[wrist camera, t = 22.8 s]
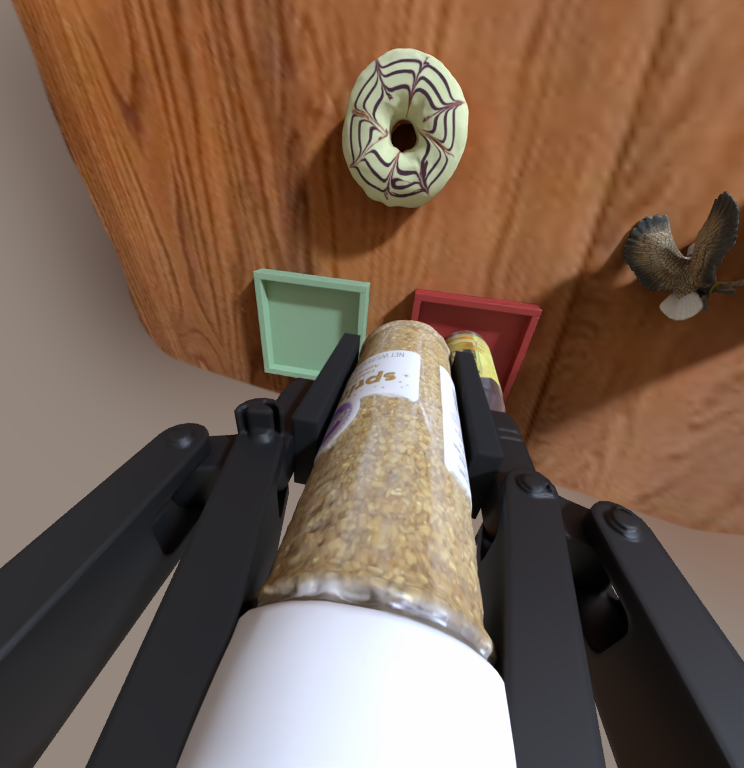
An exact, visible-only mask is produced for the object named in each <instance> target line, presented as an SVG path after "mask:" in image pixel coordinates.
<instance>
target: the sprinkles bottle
mask: <svg viewBox="0 0 744 768" xmlns="http://www.w3.org/2000/svg"><path fill="white" fill-rule="evenodd" d="M451 367H452V361H451V353H450V350H449V348H448V346H447V344H446V342H445V340H444V338H443V337H442V336H441V335H439V334H438V332H437V331H435V330H434V329H433V328H432V327H431V326H429V325H427V324H424V323H422V322H418V321H413V320H408V321H407V320H397V321H393V322H388V323H386V324H384V325H382V326H380V327H379V328H378V329H376V330H374V331H373V332H372V333H371V334H370V335H368V337H367V338H366V340H365V341H364V343H363V345H362V347H361V350H360V353H359V361H358V363H357V365H356V367H355V370H354V372H353V373H352V375H351V376H350V378H349V380H348V382H347V385H346V387H345V390H344V392H343V394H342V397H341V399H340V401H339V404H338V406H337V408H336V410H335V413H334V415H333V417H332V420H331V422H330V424H329V427H328V429H327V432H326V434H325V437H324V439H323V441H322V444H321V446H320V448H319V450H318V453H317V455H316V458H315V460H314V466H313V469H312V472H311V474H310V476H309V478H308V480H307V482H306V485H305V489H304V491H303V493H302V495H301V497H300V499H299V501H298V504H297V506H296V509H295V512H294V514H293V517H292V520H291V522H290V523H289V525H288V527H287V531H286V534H285V536H284V538H283V541H282V543H281V545H280V547H279V549H278V551H277V554H276V556H275V558H274V561H273V564H272V566H271V569H270V572H269V575H268V577H267V579H266V581H265V583H264V584H263V586H262V587H261V588H260V589H259V591H258V592H257V593H256V595H255V596H254V598H253V600H252V602H251V610H249V611H247V612H246V613H245V614H244V615H243V616H241V617H240V618H239V620H238V622H237V625H236V628H235V631H234V634H233V636H232V639H231V641H230V643H229V645H228V647H227V650H226V652H225V654H224V656H223V658H222V660H221V663H220V665H219V667H218V669H217V671H216V674H215V676H214V678H213V681H212V683H211V685H210V687H209V690H208V692H207V694H206V697H205V699H204V701H203V704H202V706H201V708H200V711H199V713H198V715H197V718H196V720H195V722H194V725H193V727H192V729H191V732H190V734H189V737H188V739H187V742H186V744H185V747H184V749H183V752H182V754H181V757H180V759H179V762H178V764H177V767H176V768H517V767H516V759H515V752H514V745H513V739H512V732H511V725H510V719H509V712H508V705H507V698H506V692H505V685H504V682H503V680H502V678H501V677H500V675H499V674H498V672H497V671H496V670H495V669H494V668H493V666H494V665H495V663H496V661H497V654H496V651H495V647H494V644H493V642H492V640H491V638H490V636H489V635H488V633H487V632H486V630H485V628H484V623H485V617H484V611H483V602H482V596H481V590H480V584H479V578H478V568H477V559H476V545H475V538H474V533H473V527H472V517H471V514H472V501H471V492H470V485H469V478H468V471H467V464H466V457H465V449H464V443H463V436H462V430H461V424H460V418H459V412H458V405H457V398H456V392H455V387H454V384H453V381H452V377H451Z"/></svg>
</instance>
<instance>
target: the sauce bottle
mask: <svg viewBox="0 0 744 768" xmlns="http://www.w3.org/2000/svg"><path fill="white" fill-rule="evenodd" d="M444 340H445V342H446V344H447V346H448V348H449V350H450V353H451V361H452V363H453V360H454V356H455V353H456V351H462V352H468V353H473V355H474V359H475V362H476V365H477V368H478V372H479V375H480V378H481V381H482V385H483V388H484V391H485V394H486V398H487V401H488V404H489V407H490V410H494V411H500V412H505V413H506V411H505V406H504V402H503V394H502V390H501V387H500V384H499V380H498V377H497V374H496V370H495V367H494V363H493V359H492V356H491V353H490V350H489V347H488V345H487V344H486V342H485V340H484V339H483V338H482V337H481V336H480V335H479V334H477V333H475V332H472V331H467V330H463V331H458V332H454V333H452V334H450V335H449V336H447V337H445V339H444Z"/></svg>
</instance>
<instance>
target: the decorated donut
mask: <svg viewBox="0 0 744 768" xmlns="http://www.w3.org/2000/svg"><path fill="white" fill-rule="evenodd" d="M402 123H403V124H412V125H413V127H414V130H415V132H416V135H417V141H416V145H415V146H414V147H413V148H412V149H409V150H405V151H404V152H403V153H401V152H400V151H399V150H398V149H397V148H395V147H393V144H392V142H391V139H392V137H391V136H392V134H393V132H394V130H395V129H396V128H397V126H399V125H400V126H401V124H402ZM467 127H468V106H467V104H466V101H465V99H464V96H463V93H462V90H461V88H460V86H459V84H458V83H457V81H456V80H455V78H454V77H453V76H452V75H451V73H450V72H449V70H447V69H446V68H445V66H444V65H443V64H442V62H440V61H438V60H437V59H436V58H435V57H433V56H431V55H428V54H425V53H423V52H421V51H418V50H415V49H400V48H398V49H393V50H391V51H388V52H386V53H385V54H384V55H383V56H381V57H379V58H378V59H376V60H374V61H373V62H372V63H370V64H369V66H367V68H366V69H365V70H363V71H362V72H361V73H360V76H359V77H358V78H357V81H356V83H355V85H354V87H353V89H352V92H351V94H350V96H349V101H348V105H347V109H346V115H345V122H344V125H343V131H342V146H343V153H344V156H345V160H346V162H347V165H348V169H349V170H350V172H351V174H352V177H353V178H354V179H355V181H356V182H357V183H358V184H359V185H360V186H361V187H362V188H363V190H364V192H365V193H366V195H367V196H368V197H370V198H371V199H372V200H376V201H378V202H382V203H384V204H385V205H386V206H388V207H393V206H401V207H408V208H414V207H419V206H422V205H424V204H426V203H427V202H428V201H430V200H431V199H432V198H433V197H434V196H435V195H436V194H437V193H438V192H439V191H441V190H442V188H443V187H444V185H445V184H446V183H447V181H448V180H449V179H450V177H451V176H452V174H453V173H454V171H455V170H456V168H457V165H458V163H459V160H460V158H461V156H462V154H463V151H464V148H465V144H466V140H467V132H468V130H467Z"/></svg>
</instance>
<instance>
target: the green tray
mask: <svg viewBox="0 0 744 768" xmlns="http://www.w3.org/2000/svg"><path fill="white" fill-rule="evenodd" d="M253 275H254V278H255V279H254V284H255V292H256V301H257V309H258V318H259V326H260V335H261V344H262V352H263V361H264V370H265V372H266V373H272V374H278V375H284V376H290V377H296V378H305V379H311V380H315V379H316V378H317V376H318V374H319V373H320V371H321V370H322V368H323V366H324V365H325V363H326V362H327V360H328V359H329V357H330V355H331V354H332V352H333V351H334V349H335V347H336V346H337V344H338V343H339V341H340V339H341V338H342V336H343V335H344V333H350V334H356V335H361V337H360V348H359V353H360V350H361V347H362V345H363V343H364V341H365V340H366V328H367V315H368V303H369V291H370V283H368V282H361V281H353V280H345V279H338V278H330V277H323V276H315V275H308V274H300V273H292V272H285V271H277V270H270V269H259V270H256V271H254V272H253ZM358 361H359V359H358Z"/></svg>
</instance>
